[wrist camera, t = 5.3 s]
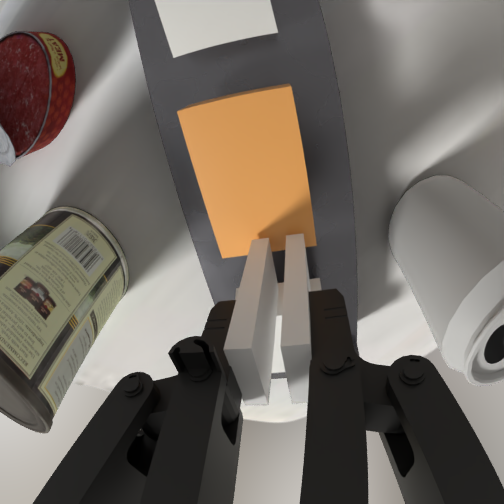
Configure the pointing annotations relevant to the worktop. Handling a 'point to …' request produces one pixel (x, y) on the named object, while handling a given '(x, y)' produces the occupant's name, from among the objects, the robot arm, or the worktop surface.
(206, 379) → the robot arm
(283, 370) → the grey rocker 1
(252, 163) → the orange rectangular block
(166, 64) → the dark grey tray
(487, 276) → the can
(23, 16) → the worktop surface
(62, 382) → the coffee can
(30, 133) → the canned food
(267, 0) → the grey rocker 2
